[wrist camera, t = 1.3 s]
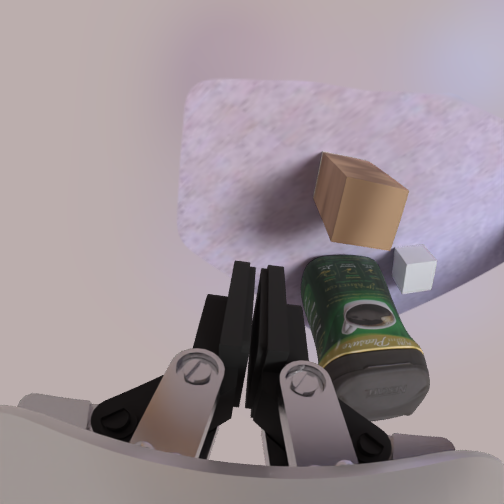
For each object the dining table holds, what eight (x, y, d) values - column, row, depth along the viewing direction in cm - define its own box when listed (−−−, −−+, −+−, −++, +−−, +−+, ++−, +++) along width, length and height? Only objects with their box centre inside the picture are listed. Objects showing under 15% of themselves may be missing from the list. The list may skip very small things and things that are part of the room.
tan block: (368, 161, 28) (409, 190, 19) (357, 205, 31) (390, 250, 22) (322, 151, 28) (346, 176, 19) (313, 197, 31) (330, 241, 22)
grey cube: (423, 243, 32) (437, 260, 29) (418, 271, 34) (431, 289, 31) (394, 246, 33) (406, 264, 29) (391, 275, 35) (402, 294, 31)
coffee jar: (297, 306, 37) (310, 441, 21) (302, 250, 34) (326, 391, 17) (370, 305, 37) (413, 428, 21) (383, 252, 33) (451, 375, 17)
